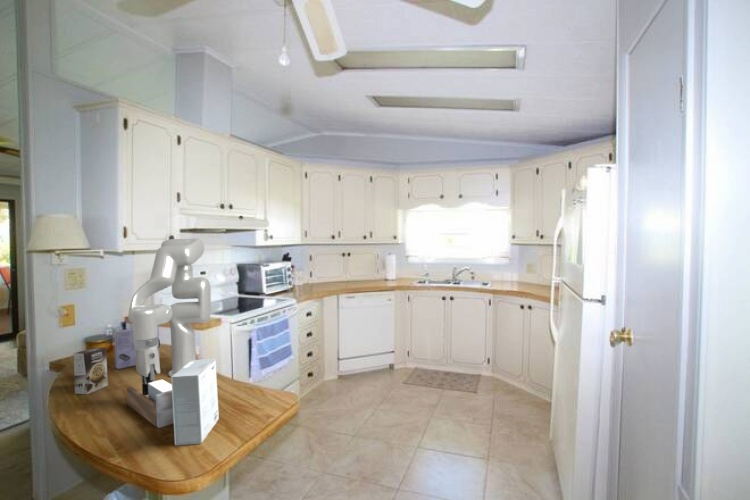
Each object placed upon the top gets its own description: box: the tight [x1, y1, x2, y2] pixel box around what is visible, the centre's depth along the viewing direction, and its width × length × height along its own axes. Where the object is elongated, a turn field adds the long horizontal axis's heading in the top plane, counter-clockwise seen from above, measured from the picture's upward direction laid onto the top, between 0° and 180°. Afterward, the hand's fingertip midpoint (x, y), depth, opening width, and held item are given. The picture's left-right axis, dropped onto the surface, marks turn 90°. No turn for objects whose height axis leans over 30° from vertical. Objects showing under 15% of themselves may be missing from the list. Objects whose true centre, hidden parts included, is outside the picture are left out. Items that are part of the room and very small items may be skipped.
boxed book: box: [147, 379, 172, 403], centre depth 128 cm, size 4×14×10 cm, turn 48°
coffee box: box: [73, 346, 109, 395], centre depth 154 cm, size 9×6×16 cm
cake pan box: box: [114, 325, 161, 370], centre depth 187 cm, size 19×5×18 cm, turn 134°
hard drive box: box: [170, 358, 220, 446], centre depth 115 cm, size 16×8×20 cm, turn 5°
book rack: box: [126, 386, 174, 429], centre depth 132 cm, size 9×30×10 cm, turn 49°
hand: (148, 393), depth 137 cm, fingers closed
